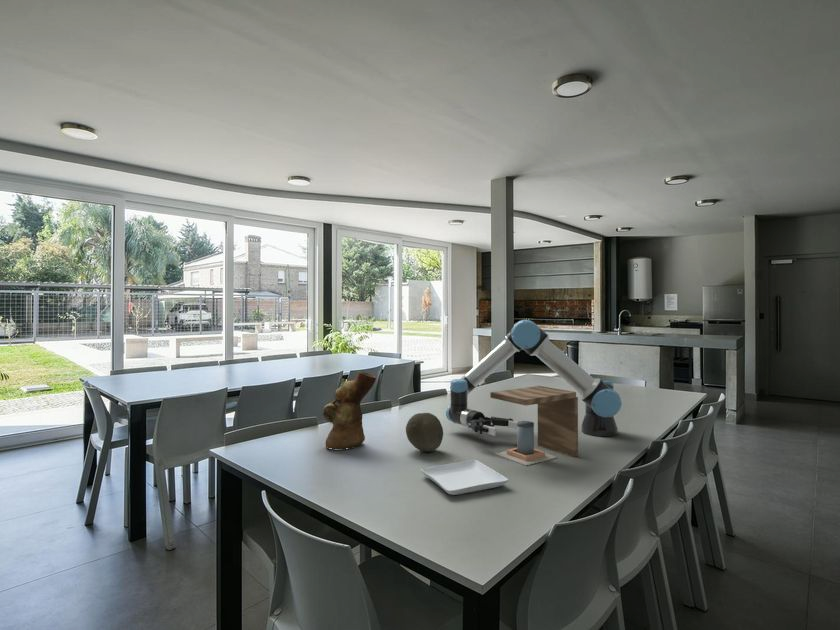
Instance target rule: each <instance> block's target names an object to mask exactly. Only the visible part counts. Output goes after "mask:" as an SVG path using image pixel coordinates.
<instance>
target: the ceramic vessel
mask: <svg viewBox="0 0 840 630" xmlns="http://www.w3.org/2000/svg"><path fill="white" fill-rule="evenodd" d="M376 380H377V377H376V376H374V375H372V374H370V373H368V372H365V371H362V370H361V371H360V370H359V371H358V372H357V374H356V376H355V378H354V379H353V380H345V378H342V379H341V380H340V381H341V382H340V386H339V387H338V388H337V389H336V390H335V392H334V394H335V397H334V398H335V399H333V400H332V401H331V402H330V403H328V404H326V405H324V407H323V410H322V416H323V418H324V419H325V421H327V422H328V423H331V424H332V428H331V430H330V431H329V432H328V435H327V437H326V440H325V448H327V447H328V448H332V449H346V448H352V449H354V448H353V447H355V448H357V447H359V446H361V445H362V444H363V443H364V442H365V440H366V436H365V432H364V428H363V427H364V425H363V410H362V408H361V402H362V400H363V399H364V398H365V396H367V394H368V393H369V392H370V390H371V389H372V388H373V387H374V385H375V382H376ZM338 403H339V404H338ZM356 446H357V447H356ZM328 448H327V449H328Z"/></svg>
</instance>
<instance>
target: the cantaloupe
mask: <svg viewBox="0 0 840 630" xmlns="http://www.w3.org/2000/svg"><path fill="white" fill-rule="evenodd" d="M405 434H406V438H407V440H408V441H409V443H410V444H411V446H413V447H414V448H416V449H417V450H418V451H421V452H423V453H424V452H425V453H432V452H433V451H436V450H437V449H438V448H439V447H440V446H441V444H442V442H443V438H444V428H443V426H442V423H441V421H440V419H439V418H438V417H437V416H436V415H434V414H433V413H430V412H419V413H415V414H413V415H412V416H411V417H410V418H409V419H408V421H407V423H406V425H405Z"/></svg>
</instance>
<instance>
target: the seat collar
mask: <svg viewBox="0 0 840 630" xmlns="http://www.w3.org/2000/svg"><path fill="white" fill-rule="evenodd" d="M494 454H495V456H498V457H501V458H504V459H506V460H510V461H511V462H514V463H516V464H519V463H520V465H522V464H523V465H522V466H525V467H528V466H532V465H535V463H536V464H539V462H540V463H543V462H546V461H551V460H554V459H557V458H558V456H556V455H552V454H550V453H547V452H546V451H543V450H540V449H536V448H534V454H530V455H523V454H520V453H517V447H515V448H509V449H506V450H504V451H500V452H497V453H494ZM531 464H532V465H531ZM527 465H528V466H527Z"/></svg>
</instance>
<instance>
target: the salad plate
mask: <svg viewBox="0 0 840 630" xmlns="http://www.w3.org/2000/svg"><path fill="white" fill-rule="evenodd" d="M420 471H421V473H422V474H423V475H424V476H425V477H426V478H428V479H429V480H431V481H432V482H433V483H435V484H436V485H437V486H439V487H440V488H441V489H442V490H444V492H445V493H447V494H448V495H451V496H455V495H456V496H457V495H464V494H468V493H469V494H470V493H474V492H479V491H484V490H488V489H489V490H490V489H493V488H498V487H501V486H503V485H505V484H506V483H508V481H509V478H508V477H506V476H504V475H502V474H501V473H499V472H498V471H497V470H496V471H495V470H494V469H493V468H491V467H489V466H488V465H485V464H484V463H482V462H480V461H479V460H477V459H470V460H463V461H458V462H452V463H451V462H450V463H447V464H446V463H444V464H440V465H433V466H429V467H428V466H427V467H424V468H421V469H420Z"/></svg>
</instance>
